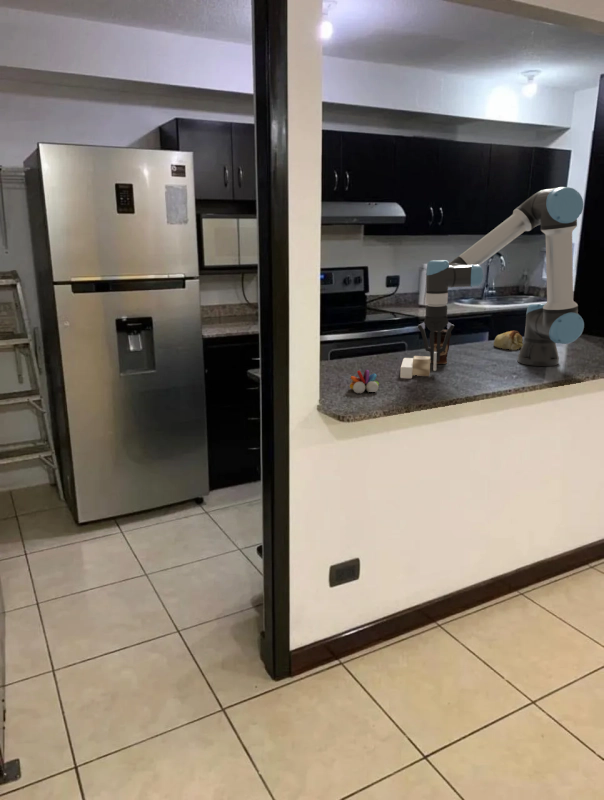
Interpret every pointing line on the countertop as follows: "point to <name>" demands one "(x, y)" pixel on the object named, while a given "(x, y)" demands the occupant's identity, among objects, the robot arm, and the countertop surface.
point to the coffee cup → (444, 353)
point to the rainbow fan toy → (364, 382)
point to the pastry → (509, 340)
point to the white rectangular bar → (406, 368)
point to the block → (421, 365)
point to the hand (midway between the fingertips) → (434, 369)
